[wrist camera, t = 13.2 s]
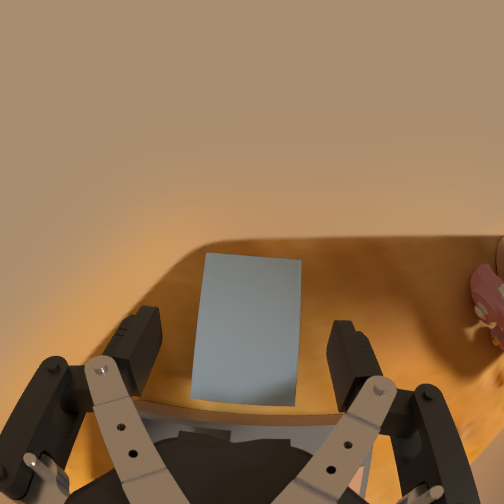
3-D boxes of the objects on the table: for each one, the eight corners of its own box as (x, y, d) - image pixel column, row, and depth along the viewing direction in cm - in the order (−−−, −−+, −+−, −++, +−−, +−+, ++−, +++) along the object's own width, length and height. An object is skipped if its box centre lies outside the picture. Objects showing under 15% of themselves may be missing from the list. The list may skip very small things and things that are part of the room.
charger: (279, 301, 20) (301, 259, 12) (273, 387, 18) (294, 406, 10) (221, 297, 20) (206, 252, 12) (213, 383, 18) (190, 398, 10)
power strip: (355, 412, 17) (379, 422, 13) (342, 505, 14) (361, 528, 10) (138, 399, 17) (115, 406, 13) (138, 493, 14) (118, 514, 10)
